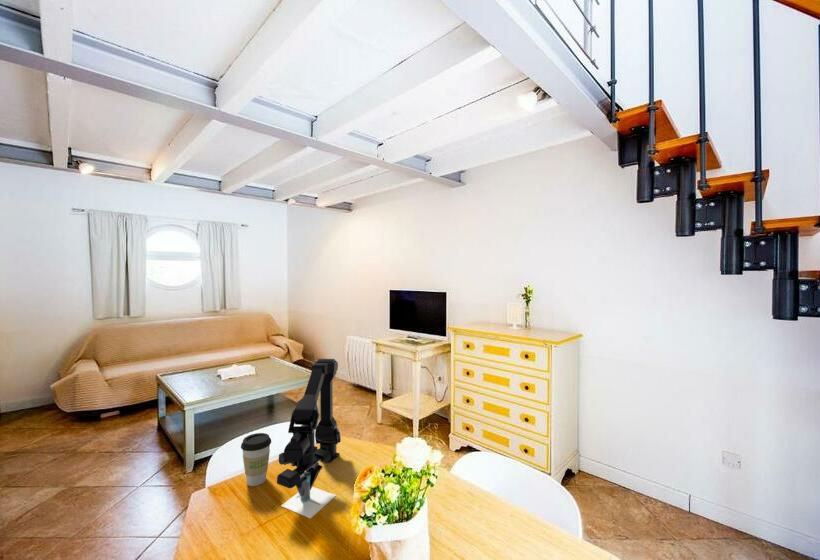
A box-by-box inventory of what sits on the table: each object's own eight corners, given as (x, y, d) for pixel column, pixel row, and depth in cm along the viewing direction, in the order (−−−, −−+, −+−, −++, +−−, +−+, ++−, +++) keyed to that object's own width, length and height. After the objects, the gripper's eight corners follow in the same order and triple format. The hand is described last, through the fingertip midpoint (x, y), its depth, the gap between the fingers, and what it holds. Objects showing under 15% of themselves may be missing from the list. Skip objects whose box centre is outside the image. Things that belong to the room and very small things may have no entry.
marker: (305, 494, 117) (305, 470, 116) (312, 497, 115) (312, 473, 115) (298, 500, 114) (298, 475, 114) (305, 503, 113) (305, 478, 112)
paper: (307, 485, 122) (307, 485, 122) (335, 495, 117) (335, 495, 117) (280, 506, 111) (280, 505, 111) (310, 518, 106) (310, 517, 106)
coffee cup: (264, 489, 120) (264, 445, 119) (235, 489, 120) (235, 445, 120) (276, 472, 130) (275, 432, 129) (249, 472, 130) (249, 431, 129)
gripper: (306, 428, 126) (307, 471, 127) (263, 452, 109) (264, 502, 110) (331, 435, 121) (331, 480, 122) (290, 461, 104) (290, 513, 105)
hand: (305, 492), depth 115 cm, fingers closed on marker, 3 cm apart
